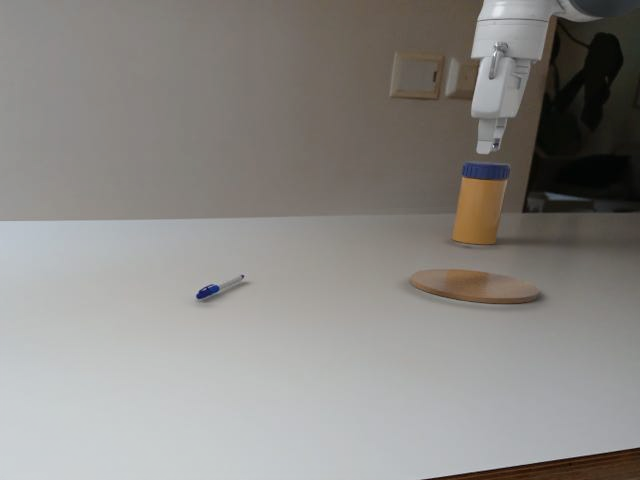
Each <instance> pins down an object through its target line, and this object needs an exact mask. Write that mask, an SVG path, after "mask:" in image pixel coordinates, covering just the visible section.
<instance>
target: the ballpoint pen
mask: <svg viewBox="0 0 640 480" xmlns="http://www.w3.org/2000/svg"><path fill="white" fill-rule="evenodd" d="M244 278H245V275H244V274H239V275H236V276H234V277H231V278H229V279H227V280H225V281H222V282H220V283H217V284H213V283H212V284H209V285H206V286H204V287H202V288H201V289H199V290H198V293H196V295H195V298H196V299H197V300H202V299H206V298H208V297H209V296H212V295H214V294H216V293H218V292H219V291H222V290H224V289H226V288H228V287H230V286H232V285H234V284H237V283H238V282H242V280H244Z"/></svg>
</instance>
